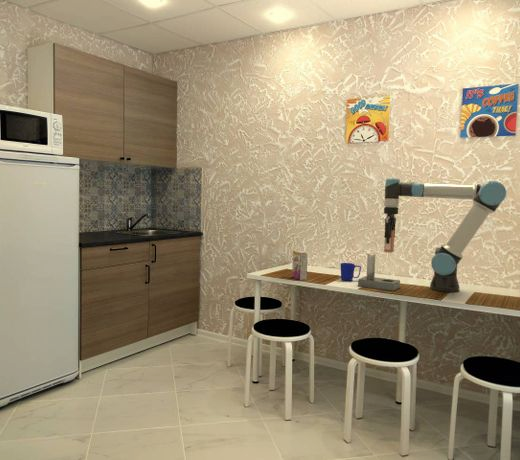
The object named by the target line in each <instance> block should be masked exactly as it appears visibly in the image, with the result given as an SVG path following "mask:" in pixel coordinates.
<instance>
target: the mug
mask: <svg viewBox="0 0 520 460" xmlns="http://www.w3.org/2000/svg"><path fill="white" fill-rule="evenodd" d="M355 268H359V271H358V275H357V276H354V275H355ZM361 268H362V266H361V265H355V263H351V262H341V263H340V279H341V280H342V281H345V282H351V281H353V279H359V277H360V275H361V271H362V269H361Z"/></svg>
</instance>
